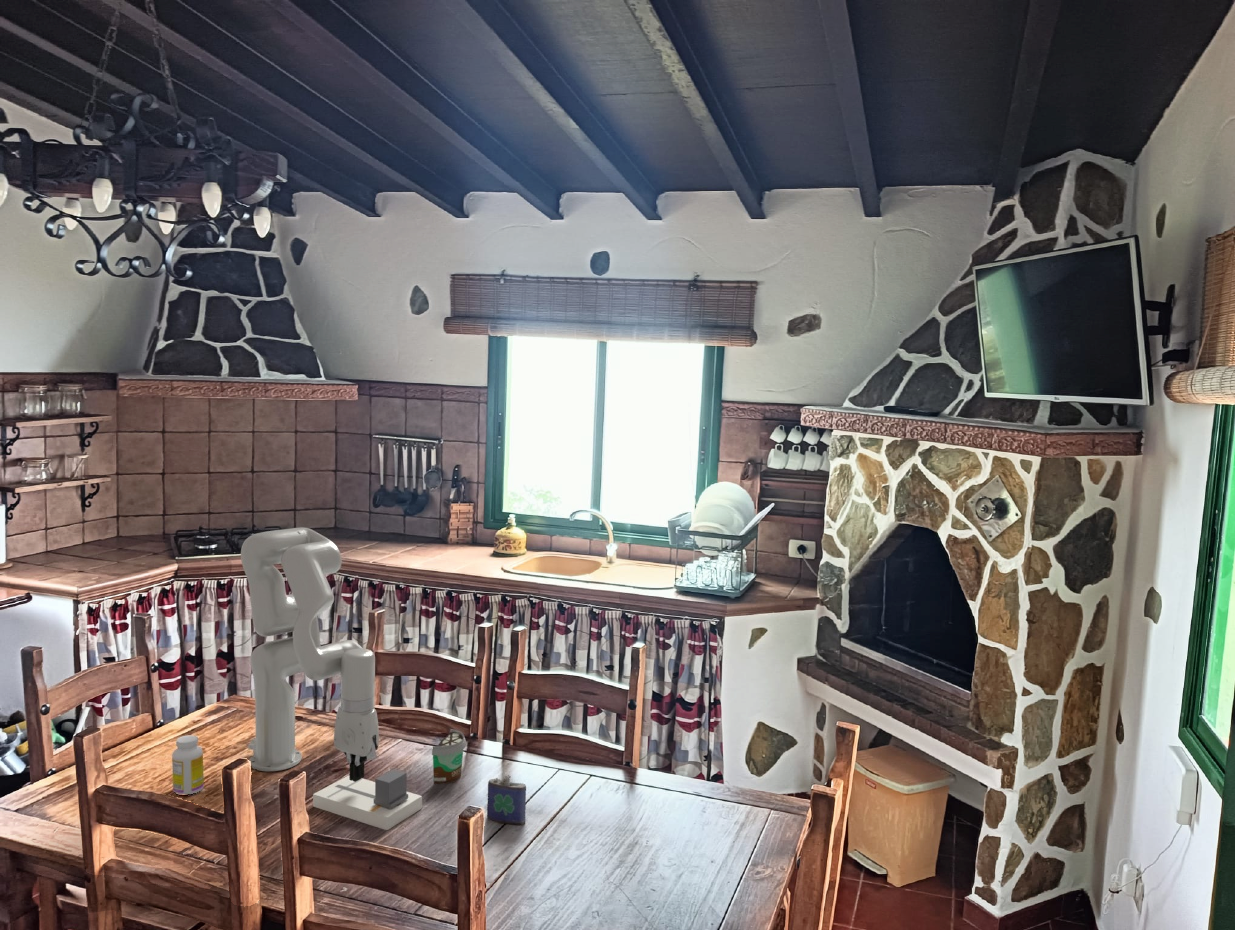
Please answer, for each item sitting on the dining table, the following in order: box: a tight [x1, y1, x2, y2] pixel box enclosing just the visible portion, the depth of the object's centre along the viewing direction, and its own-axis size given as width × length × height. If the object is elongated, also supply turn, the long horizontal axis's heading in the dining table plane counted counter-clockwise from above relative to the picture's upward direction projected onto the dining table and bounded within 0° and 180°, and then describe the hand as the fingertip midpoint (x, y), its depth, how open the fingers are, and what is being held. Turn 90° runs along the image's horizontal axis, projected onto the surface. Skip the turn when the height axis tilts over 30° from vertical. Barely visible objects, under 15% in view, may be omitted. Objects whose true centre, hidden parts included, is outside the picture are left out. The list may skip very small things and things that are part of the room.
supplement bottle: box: [171, 734, 205, 795], centre depth 221 cm, size 7×7×13 cm
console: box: [312, 775, 423, 831], centre depth 216 cm, size 22×12×3 cm, turn 63°
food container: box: [431, 728, 467, 785], centre depth 233 cm, size 12×6×10 cm, turn 168°
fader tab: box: [374, 768, 408, 809], centre depth 213 cm, size 5×6×6 cm
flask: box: [486, 774, 527, 826], centre depth 212 cm, size 9×3×11 cm, turn 74°
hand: (356, 778), depth 217 cm, fingers closed
